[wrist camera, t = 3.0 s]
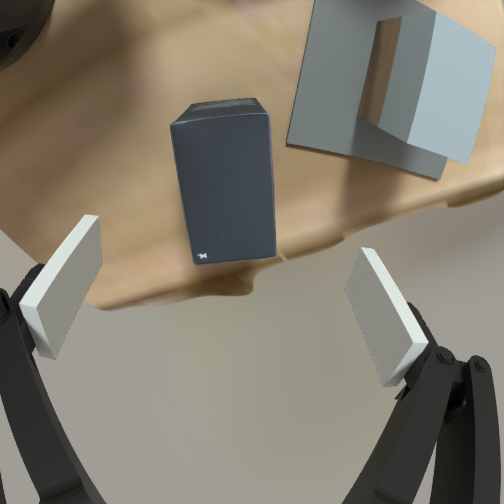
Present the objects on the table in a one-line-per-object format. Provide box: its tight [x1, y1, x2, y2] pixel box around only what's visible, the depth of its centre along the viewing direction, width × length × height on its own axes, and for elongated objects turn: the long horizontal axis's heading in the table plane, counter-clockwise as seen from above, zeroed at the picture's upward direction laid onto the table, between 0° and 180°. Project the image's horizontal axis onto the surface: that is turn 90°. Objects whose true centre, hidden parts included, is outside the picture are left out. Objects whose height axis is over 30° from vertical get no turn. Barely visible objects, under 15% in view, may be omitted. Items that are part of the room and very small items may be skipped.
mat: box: [286, 0, 448, 180], centre depth 25 cm, size 18×18×1 cm
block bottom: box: [357, 16, 402, 127], centre depth 23 cm, size 6×10×5 cm, turn 171°
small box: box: [170, 98, 276, 265], centre depth 25 cm, size 11×6×10 cm, turn 4°
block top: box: [378, 11, 496, 165], centre depth 19 cm, size 6×10×5 cm, turn 171°
